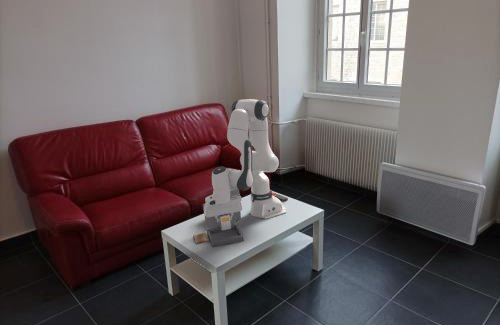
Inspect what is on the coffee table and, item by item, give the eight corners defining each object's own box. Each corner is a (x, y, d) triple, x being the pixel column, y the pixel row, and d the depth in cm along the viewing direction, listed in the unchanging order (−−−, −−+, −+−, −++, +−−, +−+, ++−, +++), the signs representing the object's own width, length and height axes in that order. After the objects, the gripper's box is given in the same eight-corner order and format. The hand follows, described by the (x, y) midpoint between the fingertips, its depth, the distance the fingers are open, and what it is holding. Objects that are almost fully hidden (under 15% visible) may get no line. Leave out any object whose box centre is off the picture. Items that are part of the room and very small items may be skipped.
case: (236, 229, 206) (236, 224, 205) (243, 240, 193) (243, 235, 192) (207, 235, 202) (207, 230, 201) (212, 247, 189) (212, 242, 188)
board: (206, 233, 203) (205, 232, 202) (209, 241, 195) (209, 239, 194) (193, 236, 201) (193, 234, 201) (196, 244, 193) (196, 242, 192)
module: (228, 223, 199) (227, 210, 197) (231, 228, 194) (229, 215, 191) (219, 225, 198) (218, 212, 195) (221, 230, 192) (220, 217, 190)
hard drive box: (217, 214, 226) (214, 184, 220) (227, 210, 231) (224, 181, 225) (231, 222, 214) (228, 191, 208) (241, 218, 219) (239, 187, 213)
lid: (236, 223, 205) (235, 223, 206) (232, 198, 206) (232, 198, 207) (206, 229, 201) (206, 228, 202) (202, 203, 202) (202, 203, 203)
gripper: (239, 191, 196) (241, 214, 200) (202, 198, 191) (205, 222, 195) (242, 196, 190) (244, 219, 195) (204, 203, 185) (207, 227, 189)
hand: (224, 221), depth 195 cm, fingers closed on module, 5 cm apart
